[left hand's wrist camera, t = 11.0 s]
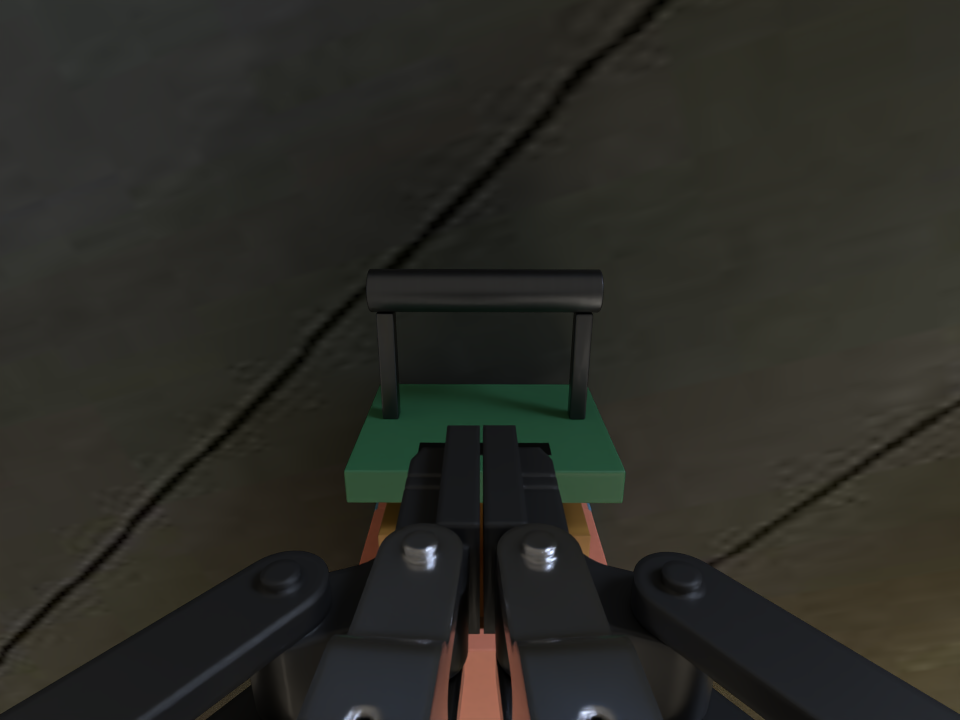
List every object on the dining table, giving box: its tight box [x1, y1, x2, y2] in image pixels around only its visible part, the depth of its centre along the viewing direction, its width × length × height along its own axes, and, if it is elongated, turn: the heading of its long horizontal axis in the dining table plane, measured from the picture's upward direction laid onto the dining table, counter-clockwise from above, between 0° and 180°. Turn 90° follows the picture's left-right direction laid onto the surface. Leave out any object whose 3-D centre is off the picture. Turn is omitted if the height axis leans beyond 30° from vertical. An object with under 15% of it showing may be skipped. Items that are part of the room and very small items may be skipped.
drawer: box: [344, 269, 626, 629], centre depth 22 cm, size 18×9×7 cm, turn 0°
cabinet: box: [359, 503, 607, 720], centre depth 26 cm, size 14×10×9 cm
